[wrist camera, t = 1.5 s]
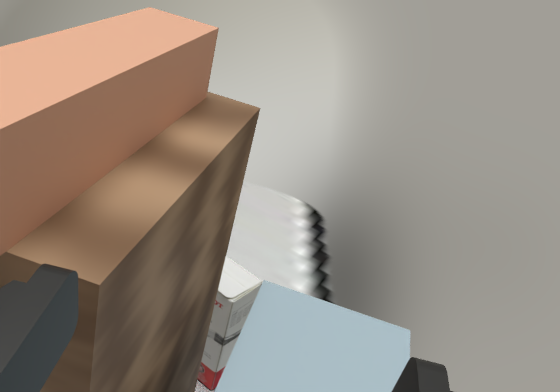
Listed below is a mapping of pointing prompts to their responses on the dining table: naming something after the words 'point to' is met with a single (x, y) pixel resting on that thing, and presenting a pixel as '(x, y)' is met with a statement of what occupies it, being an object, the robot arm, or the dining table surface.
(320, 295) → the dining table surface
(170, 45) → the bar
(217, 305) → the ink box
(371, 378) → the grey foam block
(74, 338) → the plinth
